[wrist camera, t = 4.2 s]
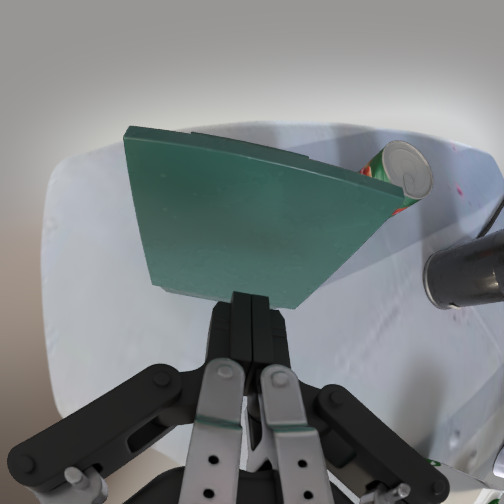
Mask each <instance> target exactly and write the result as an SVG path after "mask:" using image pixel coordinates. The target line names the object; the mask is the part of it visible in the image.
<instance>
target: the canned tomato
mask: <svg viewBox="0 0 504 504" xmlns="http://www.w3.org/2000/svg"><path fill="white" fill-rule="evenodd" d="M358 173H360V174H363V175H367V176H370V177H373V178H376V179H379V180H382V181H385V182H388V183H391V184H394V185H397V186H400V187H402V188H403V191H404V195H405V201H404V202H403V203H402V204H401V205H400V206H399V207H398V208H397V210H396V211H395V212H394V213H393V214H392V215H391V216H390V217H392V216H394V215H396V214H397V213H399V212H401V211H403V210H404V209H406V208H408V207H410V206H411V205H413V204H414V203H416V202H418V201H419V200H421V199H423V198H425V197H427V196H428V195H429V194H430V193H431V190H432V188H433V175H432V171H431V168H430V166H429V164H428V162H427V160H426V159H425V157H424V156H423V155H422V154H421V152H420V151H419V150H417V149H416V148H415V147H414V146H412V145H411V144H409V143H407V142H404V141H399V140H396V141H392V142H389V143H388V144H387V145H386V146H385V148H384V149H382V150H381V151H380V152H379V153H378V154H377V155H376V156H375V157H374V158H373V159H372V160H371V161H370V162H368V163H367V164H366V165H365V166H364V167H363V168H362V169H361V170H360V171H359V172H358ZM390 217H389V218H390Z"/></svg>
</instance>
